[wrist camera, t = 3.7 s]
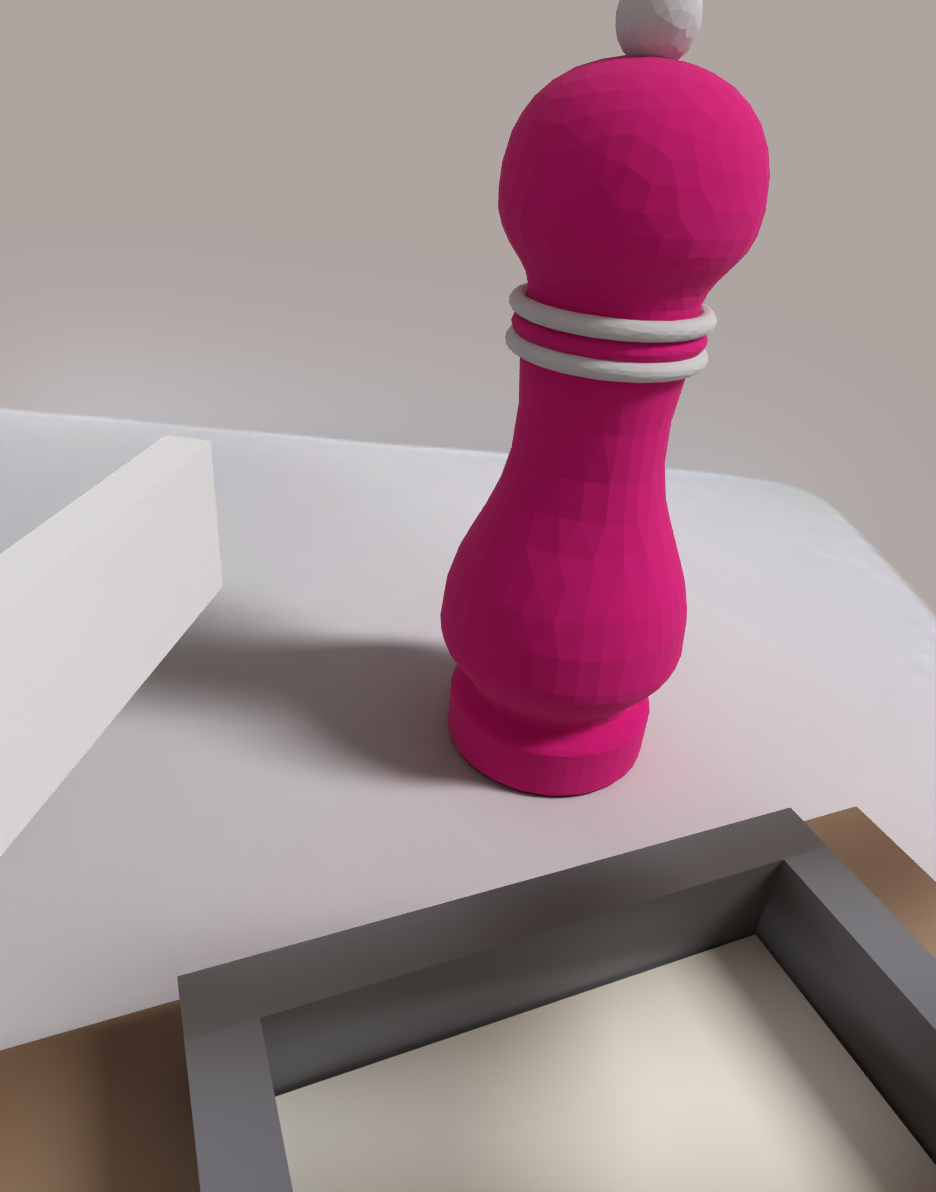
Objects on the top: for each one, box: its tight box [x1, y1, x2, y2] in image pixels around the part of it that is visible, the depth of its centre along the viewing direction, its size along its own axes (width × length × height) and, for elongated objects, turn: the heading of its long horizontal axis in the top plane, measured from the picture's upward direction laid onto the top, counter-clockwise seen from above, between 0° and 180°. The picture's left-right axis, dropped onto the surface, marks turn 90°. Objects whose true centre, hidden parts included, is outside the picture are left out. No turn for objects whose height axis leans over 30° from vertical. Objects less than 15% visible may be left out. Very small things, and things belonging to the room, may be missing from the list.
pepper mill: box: [441, 0, 770, 796], centre depth 22 cm, size 7×7×20 cm
